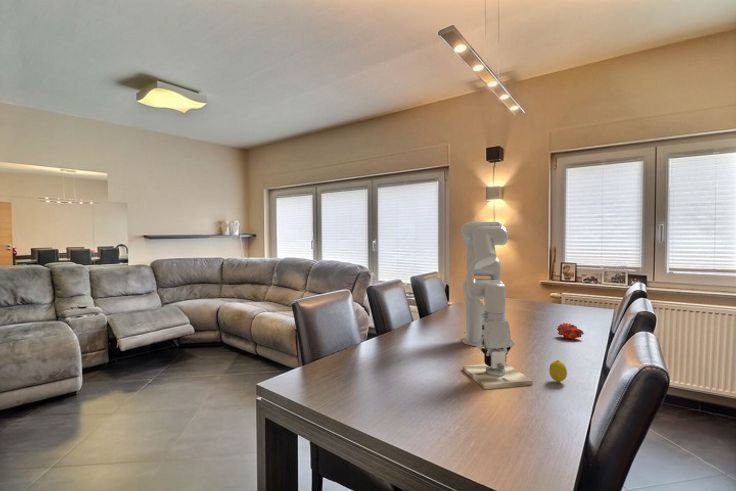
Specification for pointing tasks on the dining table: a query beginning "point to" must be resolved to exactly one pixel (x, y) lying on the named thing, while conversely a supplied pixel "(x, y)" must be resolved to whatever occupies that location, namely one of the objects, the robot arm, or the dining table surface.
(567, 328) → the dragon fruit
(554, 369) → the lemon
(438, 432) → the dining table surface
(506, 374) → the base
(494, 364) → the white box
